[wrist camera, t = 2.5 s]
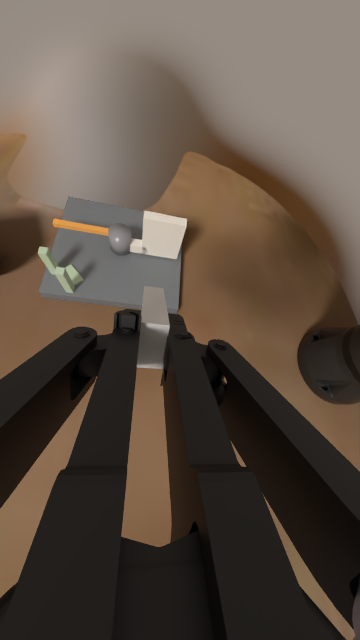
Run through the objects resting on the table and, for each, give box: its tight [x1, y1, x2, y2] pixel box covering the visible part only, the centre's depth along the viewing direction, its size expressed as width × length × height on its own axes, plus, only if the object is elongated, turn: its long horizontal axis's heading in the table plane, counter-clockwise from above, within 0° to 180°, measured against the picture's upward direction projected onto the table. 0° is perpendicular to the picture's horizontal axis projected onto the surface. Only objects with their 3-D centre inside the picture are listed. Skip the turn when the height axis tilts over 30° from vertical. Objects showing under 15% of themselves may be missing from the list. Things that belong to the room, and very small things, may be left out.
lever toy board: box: [38, 197, 182, 313], centre depth 40 cm, size 24×22×8 cm
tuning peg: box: [53, 211, 187, 259], centre depth 38 cm, size 22×4×9 cm, turn 87°
